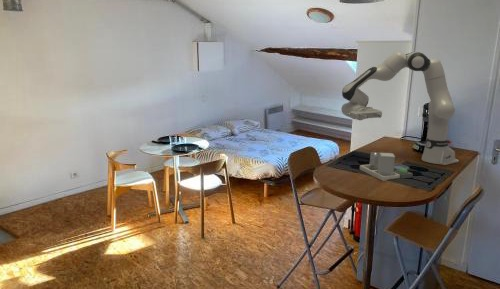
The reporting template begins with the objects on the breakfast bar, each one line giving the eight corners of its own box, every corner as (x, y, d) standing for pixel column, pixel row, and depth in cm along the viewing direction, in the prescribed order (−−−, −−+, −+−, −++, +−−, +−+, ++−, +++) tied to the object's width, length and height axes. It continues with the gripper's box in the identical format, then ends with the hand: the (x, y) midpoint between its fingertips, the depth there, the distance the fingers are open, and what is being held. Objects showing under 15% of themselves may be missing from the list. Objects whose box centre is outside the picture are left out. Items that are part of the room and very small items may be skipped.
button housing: (403, 174, 218) (403, 169, 217) (412, 178, 212) (412, 173, 211) (393, 175, 216) (393, 170, 215) (401, 180, 209) (402, 174, 209)
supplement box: (392, 179, 210) (395, 156, 206) (378, 178, 211) (380, 155, 208) (390, 174, 217) (393, 153, 213) (377, 173, 218) (379, 152, 215)
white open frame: (359, 169, 226) (359, 165, 225) (375, 167, 230) (375, 163, 229) (383, 181, 207) (383, 176, 206) (399, 179, 211) (400, 174, 210)
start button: (403, 174, 216) (403, 167, 215) (408, 176, 212) (409, 169, 211) (397, 175, 215) (398, 168, 214) (402, 177, 211) (403, 170, 210)
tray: (399, 166, 233) (399, 163, 232) (409, 170, 225) (409, 167, 225) (388, 167, 230) (388, 164, 230) (397, 171, 223) (398, 168, 222)
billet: (374, 169, 226) (376, 151, 223) (379, 172, 222) (381, 153, 219) (367, 170, 224) (368, 152, 222) (372, 173, 220) (374, 154, 217)
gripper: (345, 108, 237) (359, 112, 224) (373, 107, 244) (388, 110, 231) (344, 118, 238) (358, 123, 226) (372, 116, 245) (387, 120, 233)
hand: (373, 116), depth 228 cm, fingers open, 8 cm apart
